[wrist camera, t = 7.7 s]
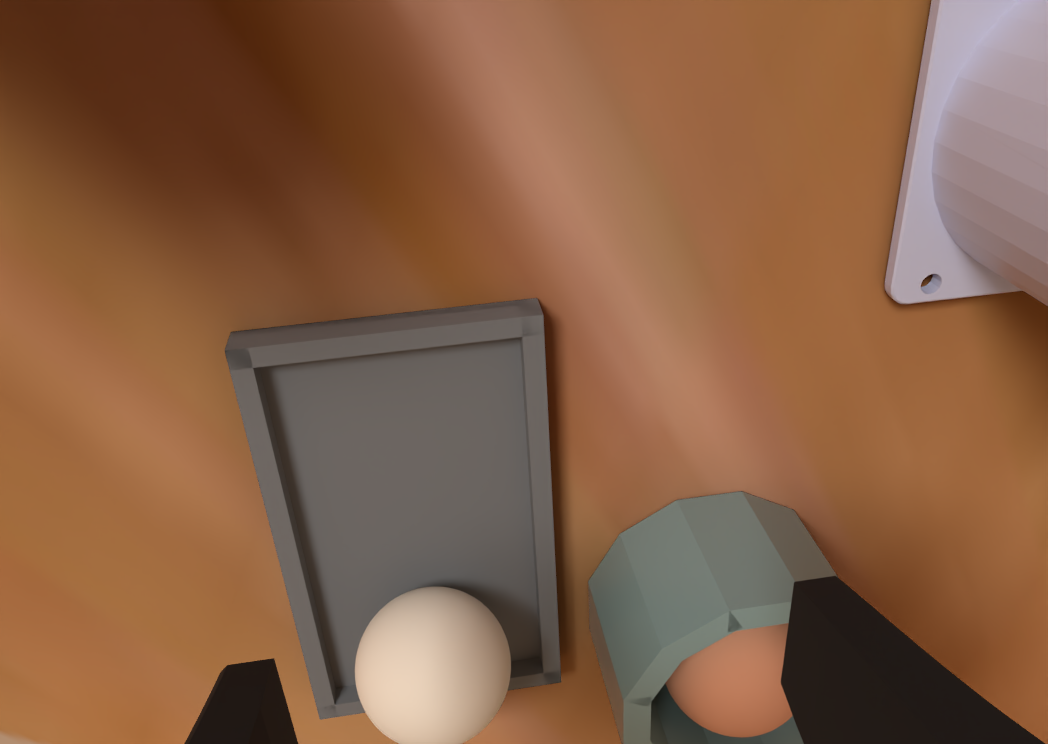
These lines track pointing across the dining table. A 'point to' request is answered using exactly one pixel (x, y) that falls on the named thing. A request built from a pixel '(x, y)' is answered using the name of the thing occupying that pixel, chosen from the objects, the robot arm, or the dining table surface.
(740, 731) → the ball terracotta
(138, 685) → the dining table surface
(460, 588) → the slate tray
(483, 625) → the ball cream
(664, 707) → the teal tube
